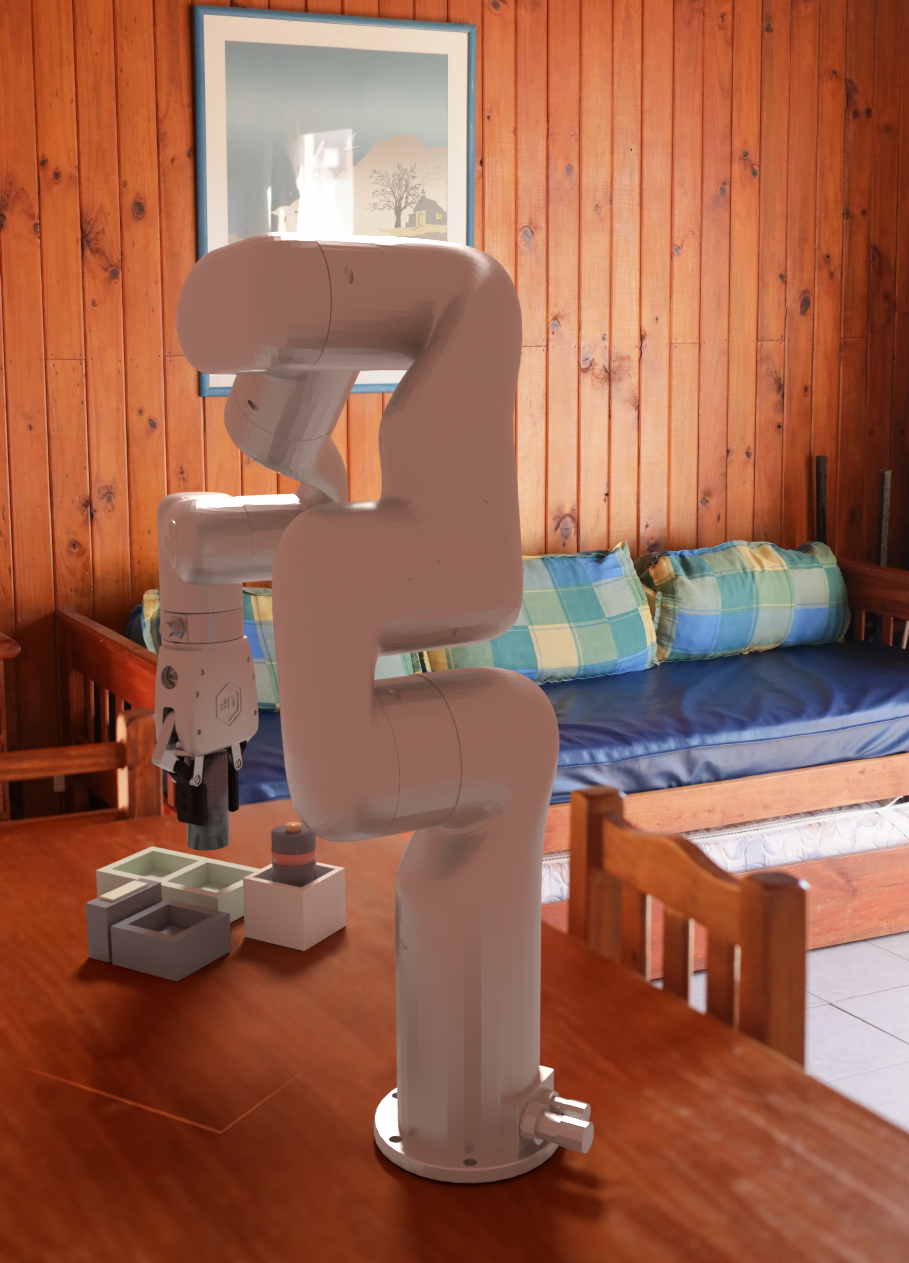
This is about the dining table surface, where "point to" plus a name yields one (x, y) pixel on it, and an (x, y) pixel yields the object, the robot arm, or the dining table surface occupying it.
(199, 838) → the cell
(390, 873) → the dining table surface
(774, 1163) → the dining table surface
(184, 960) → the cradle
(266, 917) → the cup
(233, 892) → the tray
